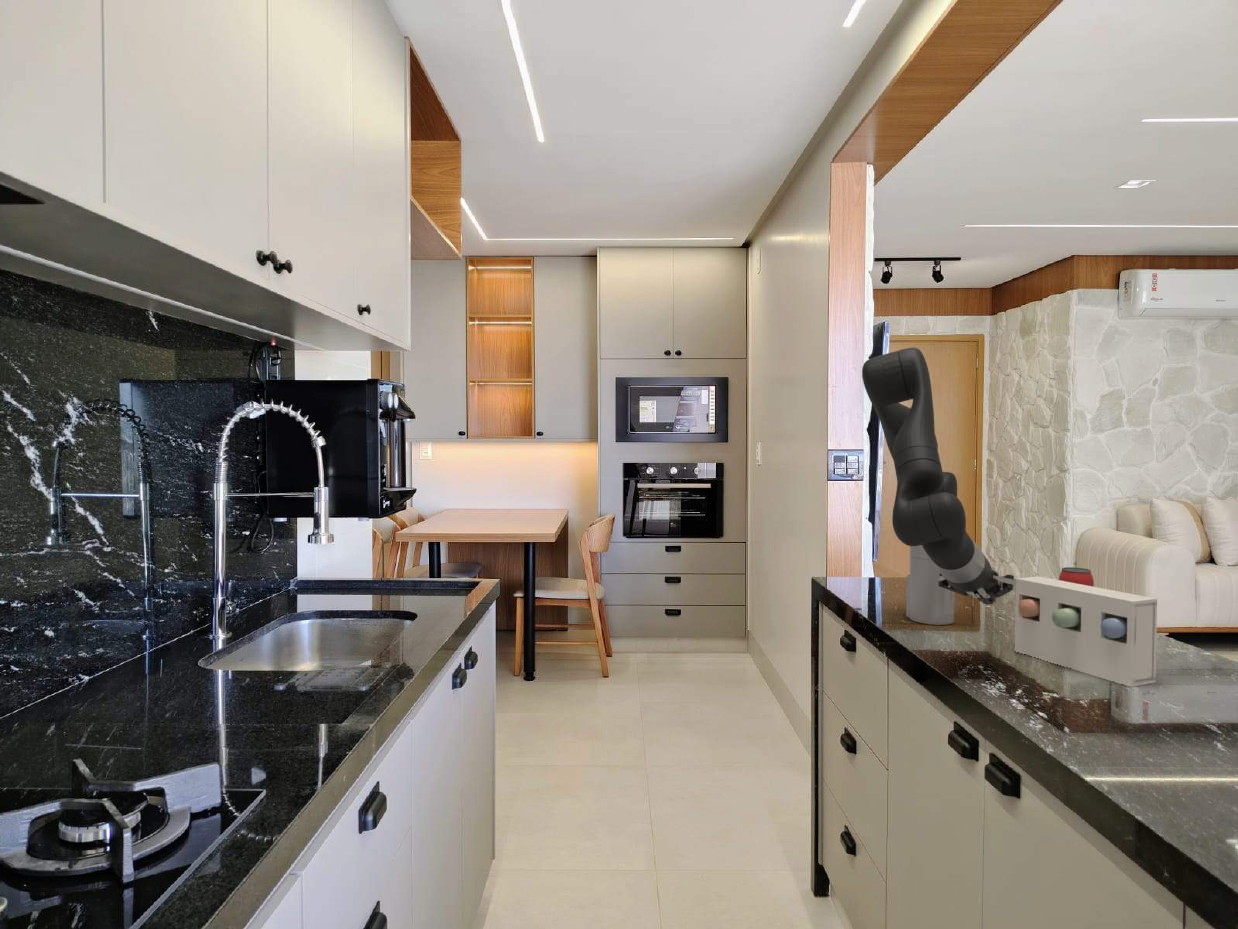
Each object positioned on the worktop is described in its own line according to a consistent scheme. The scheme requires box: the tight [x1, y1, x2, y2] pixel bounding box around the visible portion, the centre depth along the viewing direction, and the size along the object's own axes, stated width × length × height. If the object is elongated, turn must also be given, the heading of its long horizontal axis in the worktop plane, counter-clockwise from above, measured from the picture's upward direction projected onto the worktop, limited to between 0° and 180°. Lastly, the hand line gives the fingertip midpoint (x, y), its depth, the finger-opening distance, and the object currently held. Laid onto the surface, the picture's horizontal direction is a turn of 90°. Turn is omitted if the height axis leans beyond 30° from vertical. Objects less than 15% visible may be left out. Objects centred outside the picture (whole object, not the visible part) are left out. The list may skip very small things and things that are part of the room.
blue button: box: [1101, 617, 1127, 638], centre depth 124 cm, size 3×4×3 cm
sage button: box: [1052, 608, 1081, 628], centre depth 131 cm, size 3×4×3 cm
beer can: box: [1058, 566, 1095, 587], centre depth 164 cm, size 7×7×12 cm
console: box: [1014, 575, 1158, 688], centre depth 133 cm, size 22×6×14 cm, turn 22°
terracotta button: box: [1018, 598, 1040, 617], centre depth 139 cm, size 3×4×3 cm
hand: (988, 599), depth 138 cm, fingers closed
